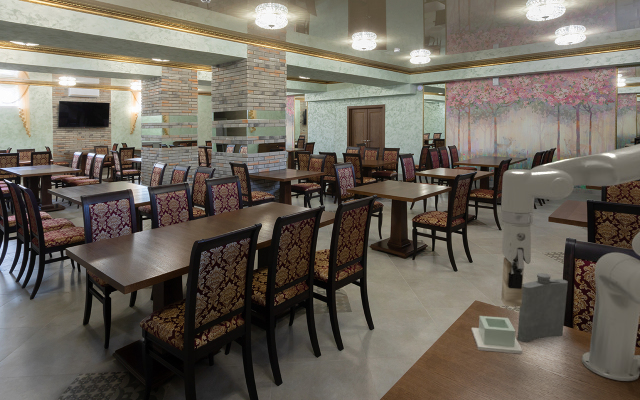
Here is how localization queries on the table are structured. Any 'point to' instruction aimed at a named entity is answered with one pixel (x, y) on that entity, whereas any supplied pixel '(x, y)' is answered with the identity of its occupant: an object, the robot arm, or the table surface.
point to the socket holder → (496, 335)
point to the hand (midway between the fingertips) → (512, 284)
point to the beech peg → (510, 294)
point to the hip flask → (542, 308)
